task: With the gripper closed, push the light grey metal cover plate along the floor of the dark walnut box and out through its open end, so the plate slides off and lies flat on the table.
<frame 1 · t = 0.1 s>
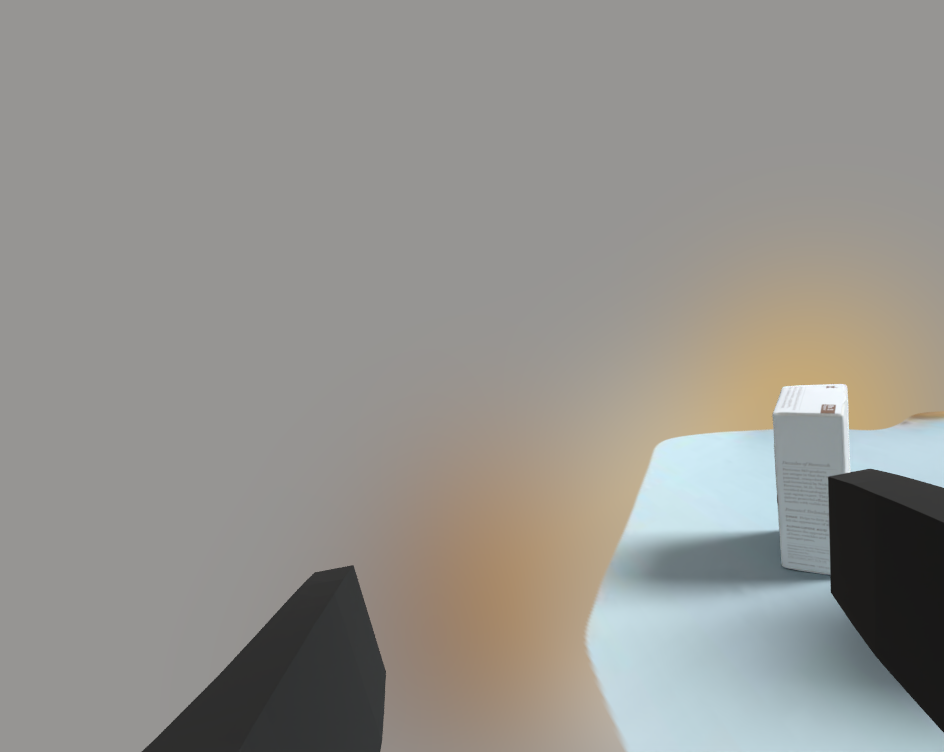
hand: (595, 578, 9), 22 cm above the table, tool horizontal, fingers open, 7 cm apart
skincare box: (820, 555, 43), on the table
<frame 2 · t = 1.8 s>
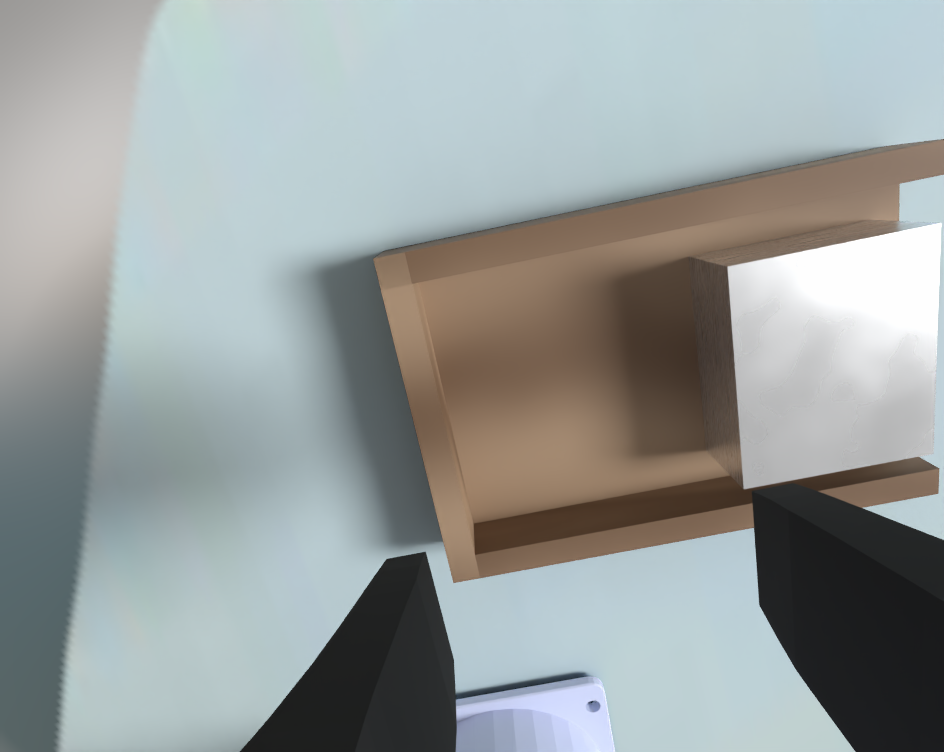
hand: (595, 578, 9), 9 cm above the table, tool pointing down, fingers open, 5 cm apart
cover plate: (783, 341, 17), resting on wooden box
wooden box: (650, 362, 18), on the table
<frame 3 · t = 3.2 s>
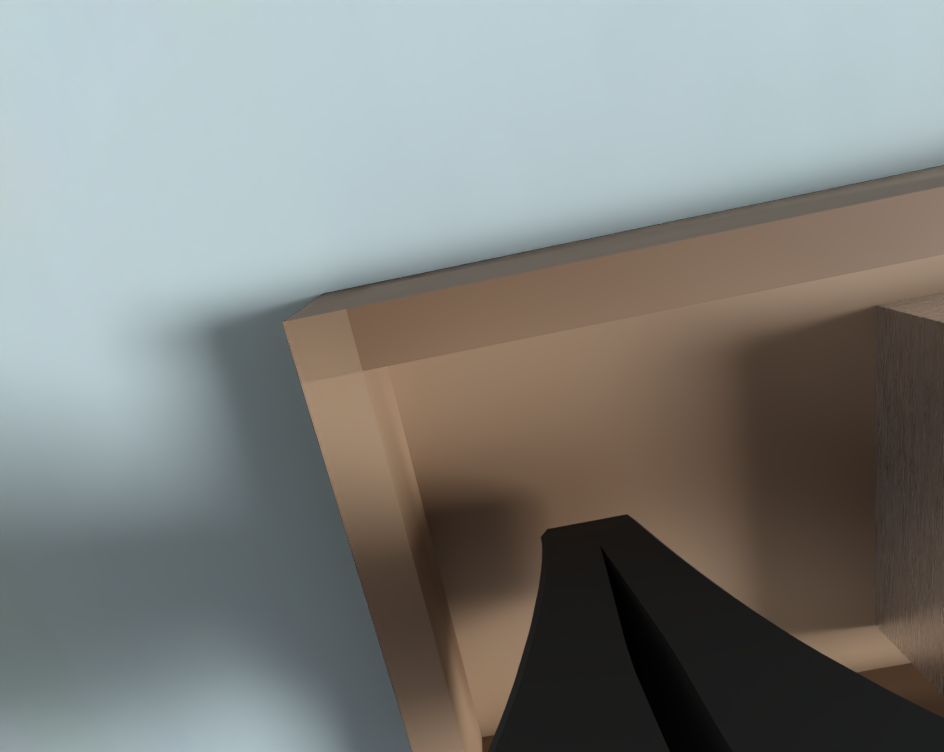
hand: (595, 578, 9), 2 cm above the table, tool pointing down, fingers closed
wooden box: (785, 479, 10), on the table
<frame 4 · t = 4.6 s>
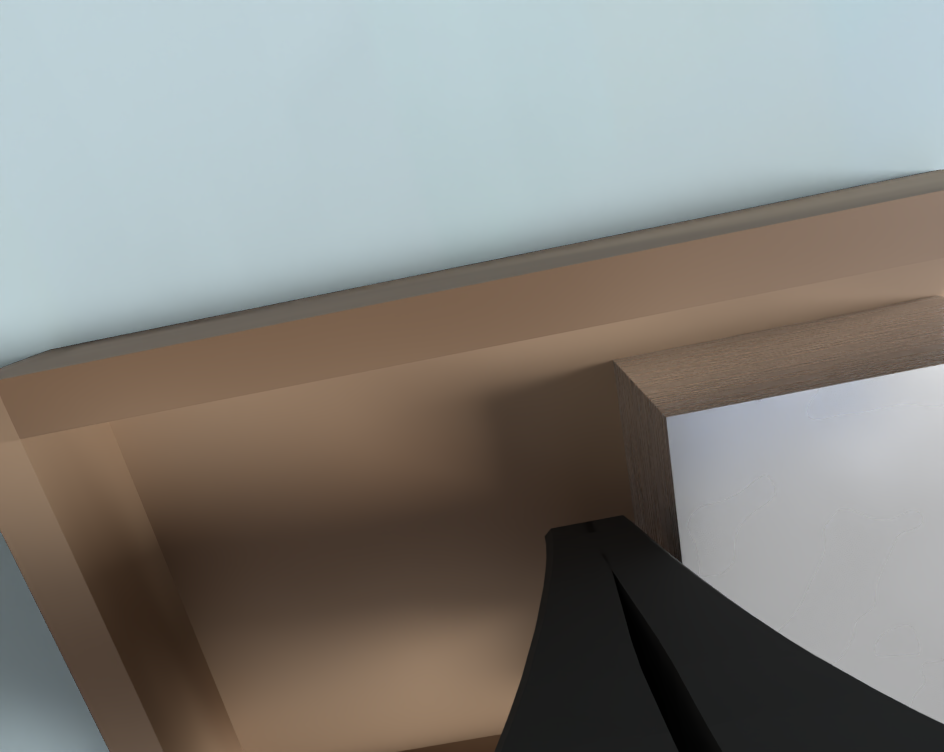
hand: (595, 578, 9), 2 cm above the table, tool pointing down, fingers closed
cover plate: (782, 498, 10), point 1 cm above the table, touching gripper
wooden box: (531, 527, 11), on the table
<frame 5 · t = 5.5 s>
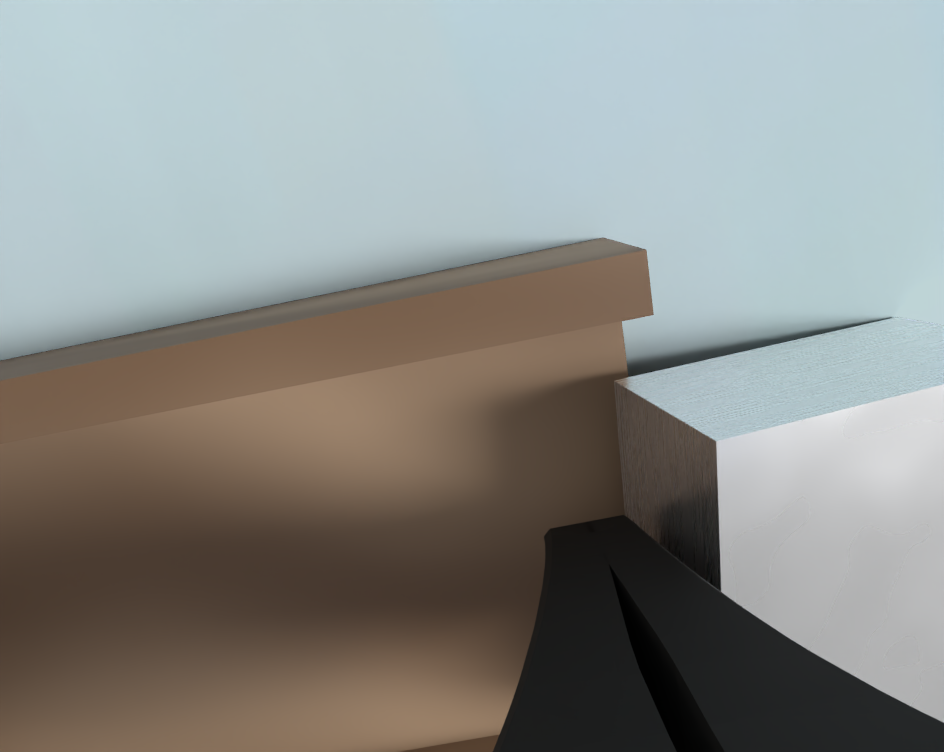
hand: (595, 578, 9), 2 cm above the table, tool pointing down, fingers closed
cover plate: (763, 516, 10), on the table, tilted 12°, touching gripper
wooden box: (256, 578, 11), on the table
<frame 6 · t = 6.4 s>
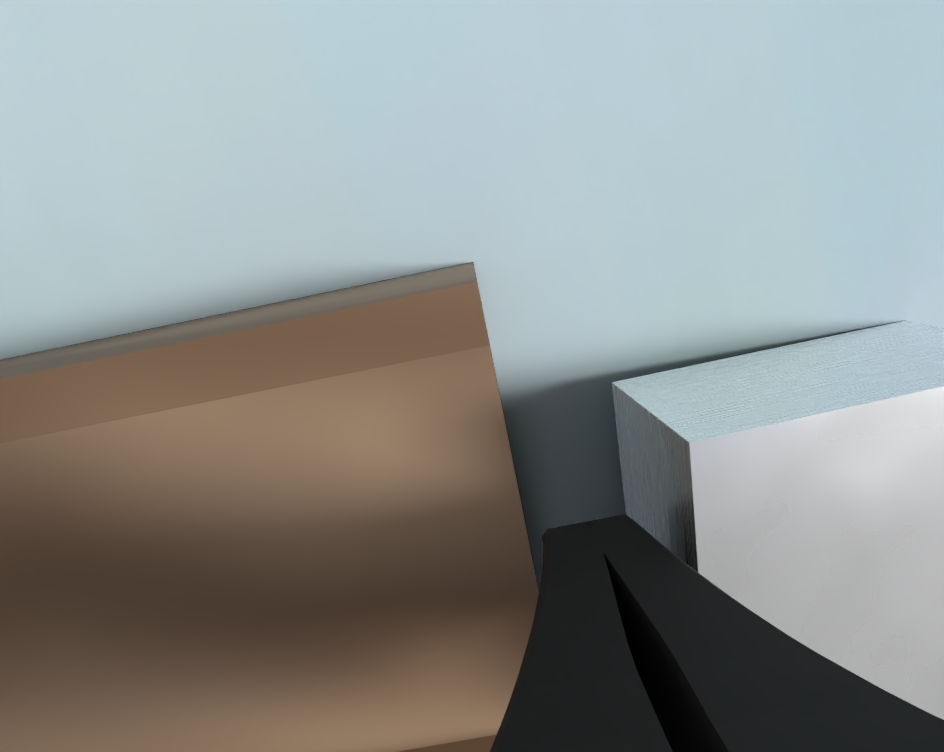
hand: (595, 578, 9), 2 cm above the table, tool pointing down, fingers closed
cover plate: (766, 514, 10), on the table, tilted 7°, touching gripper
wooden box: (149, 598, 11), on the table
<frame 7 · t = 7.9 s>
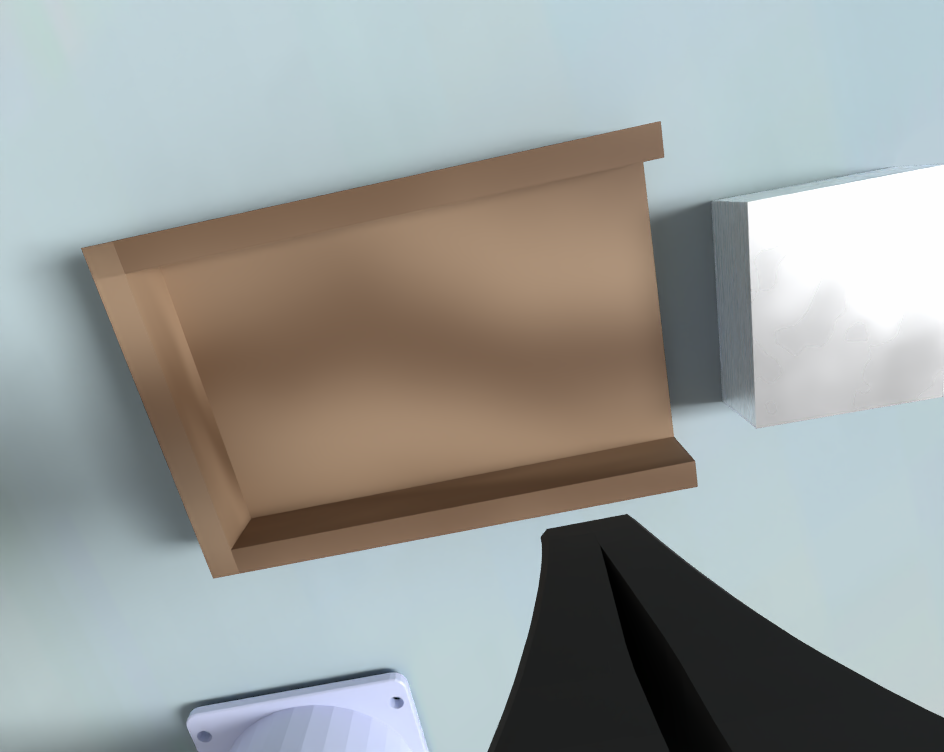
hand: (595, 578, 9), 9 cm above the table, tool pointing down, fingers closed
cover plate: (797, 289, 17), on the table
wooden box: (417, 353, 17), on the table
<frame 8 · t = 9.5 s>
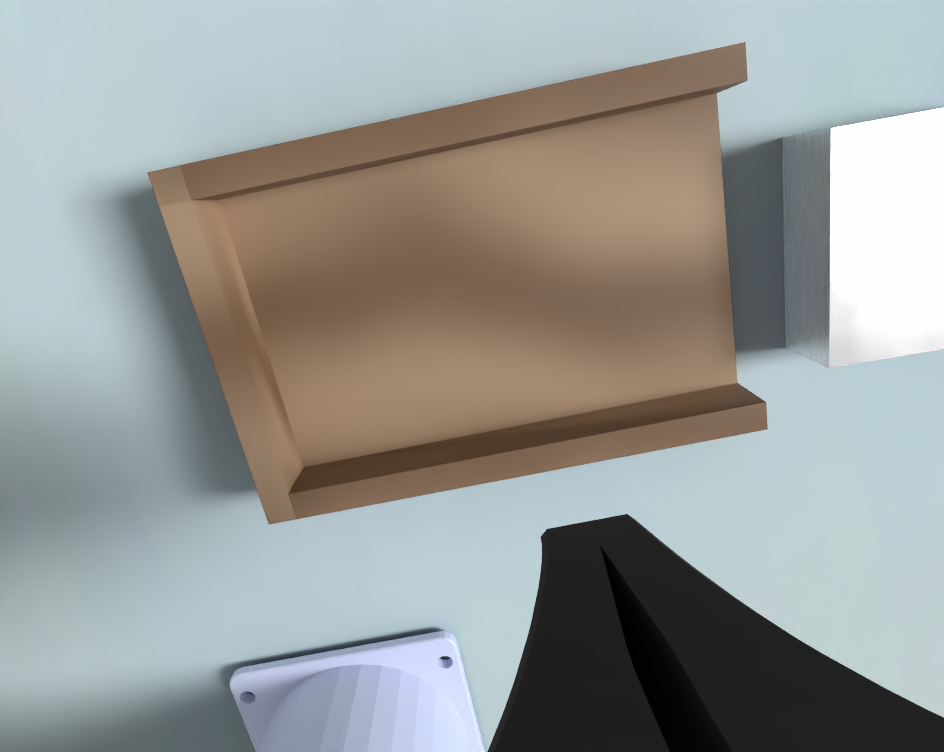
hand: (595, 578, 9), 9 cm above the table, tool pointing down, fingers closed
cover plate: (864, 232, 17), on the table
wooden box: (477, 296, 17), on the table
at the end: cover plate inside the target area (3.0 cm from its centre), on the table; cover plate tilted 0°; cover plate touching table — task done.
